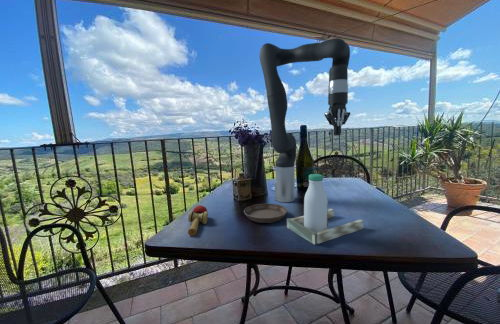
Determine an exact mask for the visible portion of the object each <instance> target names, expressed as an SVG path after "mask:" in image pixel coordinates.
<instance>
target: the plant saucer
mask: <svg viewBox="0 0 500 324" xmlns="http://www.w3.org/2000/svg"><path fill="white" fill-rule="evenodd" d="M287 212H288V209H287V208H286V207H285V206H283V205H280V204H277V203H276V204H275V203H257V204H253V205H250V206H247V207H245V208H244V210H243V214H244V215H245V216H246V217H247V218H248V219H249V220H250V221H253V222H255V223H260V224H261V223H262V224H270V223H275V222H278V221H281V220H282V219H283V218H284V217H285V216H286V214H287Z"/></svg>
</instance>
